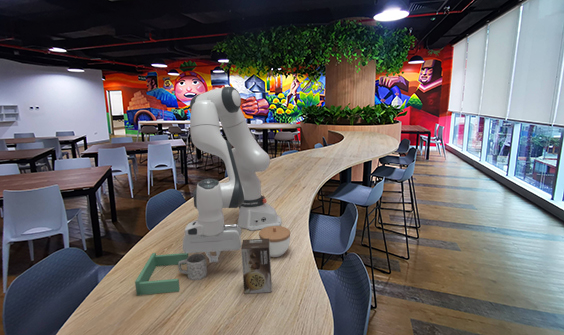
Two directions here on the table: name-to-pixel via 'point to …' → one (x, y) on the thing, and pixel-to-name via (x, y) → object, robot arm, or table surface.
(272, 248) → the lidded bowl
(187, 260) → the mug
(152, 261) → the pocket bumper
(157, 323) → the table surface
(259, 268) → the brown food box
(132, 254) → the table surface
